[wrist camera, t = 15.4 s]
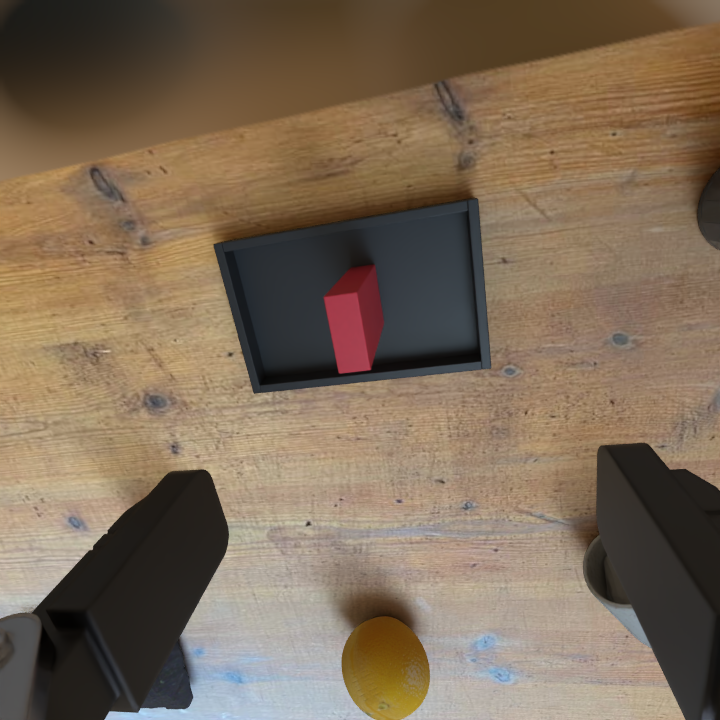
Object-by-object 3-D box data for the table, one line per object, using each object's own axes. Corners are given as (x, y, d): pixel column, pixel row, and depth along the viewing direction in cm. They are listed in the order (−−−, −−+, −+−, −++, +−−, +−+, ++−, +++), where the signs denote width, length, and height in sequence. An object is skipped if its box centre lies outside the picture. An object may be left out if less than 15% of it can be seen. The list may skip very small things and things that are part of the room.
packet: (374, 263, 34) (357, 291, 25) (384, 323, 36) (371, 370, 27) (349, 267, 35) (322, 296, 26) (360, 326, 36) (338, 374, 27)
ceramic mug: (619, 602, 43) (660, 683, 36) (569, 547, 42) (601, 620, 35) (728, 550, 40) (797, 628, 33) (678, 488, 38) (738, 556, 31)
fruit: (335, 631, 50) (319, 708, 42) (373, 588, 47) (364, 663, 39) (401, 668, 51) (398, 751, 43) (444, 629, 48) (448, 710, 40)
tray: (474, 197, 32) (478, 198, 30) (487, 358, 36) (491, 368, 34) (225, 240, 36) (212, 244, 34) (262, 382, 40) (253, 393, 38)
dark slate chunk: (210, 701, 57) (193, 744, 53) (61, 697, 61) (33, 736, 57) (174, 611, 52) (151, 650, 48) (14, 613, 56) (-21, 649, 52)
